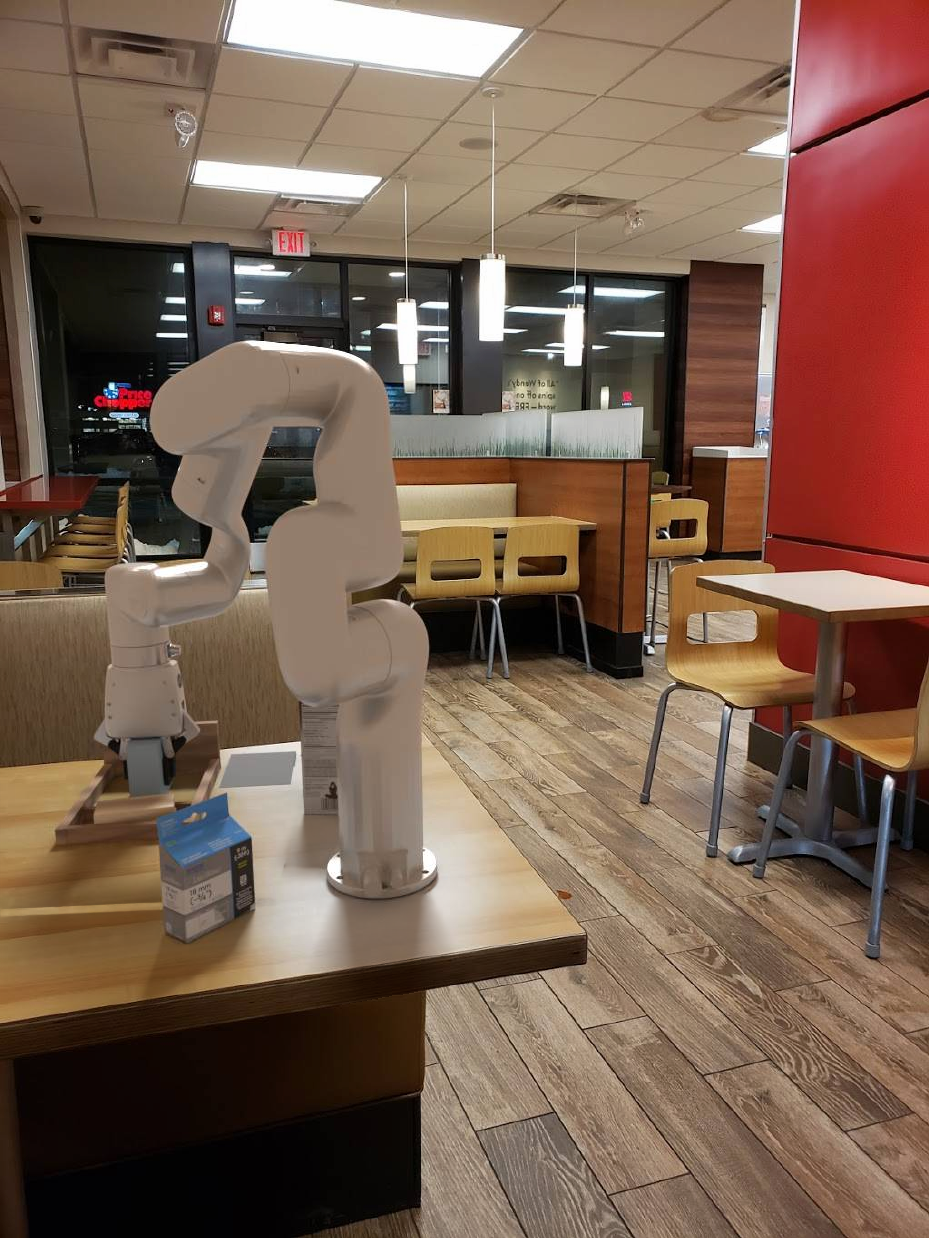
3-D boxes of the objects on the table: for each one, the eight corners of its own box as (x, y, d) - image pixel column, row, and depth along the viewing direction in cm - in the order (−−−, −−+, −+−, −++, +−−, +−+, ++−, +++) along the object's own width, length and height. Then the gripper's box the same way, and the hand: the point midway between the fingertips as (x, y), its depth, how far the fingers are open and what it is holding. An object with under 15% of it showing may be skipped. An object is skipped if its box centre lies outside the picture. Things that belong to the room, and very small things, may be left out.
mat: (290, 787, 130) (290, 783, 130) (219, 791, 129) (219, 787, 129) (296, 754, 144) (296, 751, 143) (231, 757, 142) (231, 754, 142)
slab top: (174, 817, 115) (173, 806, 114) (94, 826, 112) (93, 815, 112) (174, 803, 119) (174, 792, 119) (98, 812, 117) (97, 801, 116)
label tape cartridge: (186, 946, 90) (178, 828, 87) (162, 933, 92) (154, 819, 89) (257, 909, 96) (251, 799, 94) (233, 898, 99) (226, 791, 96)
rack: (194, 840, 113) (190, 779, 111) (56, 848, 111) (50, 787, 109) (221, 771, 136) (217, 720, 135) (107, 777, 134) (103, 725, 133)
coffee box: (315, 789, 129) (310, 680, 126) (360, 789, 129) (356, 680, 126) (302, 815, 120) (297, 698, 117) (350, 815, 120) (347, 698, 117)
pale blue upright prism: (161, 808, 123) (156, 744, 121) (131, 809, 122) (125, 746, 121) (172, 786, 131) (168, 726, 129) (144, 787, 130) (139, 727, 128)
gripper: (208, 646, 127) (217, 770, 131) (84, 651, 125) (96, 776, 129) (200, 658, 120) (209, 789, 123) (68, 664, 118) (80, 797, 121)
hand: (151, 781), depth 126 cm, fingers closed on pale blue upright prism, 4 cm apart
